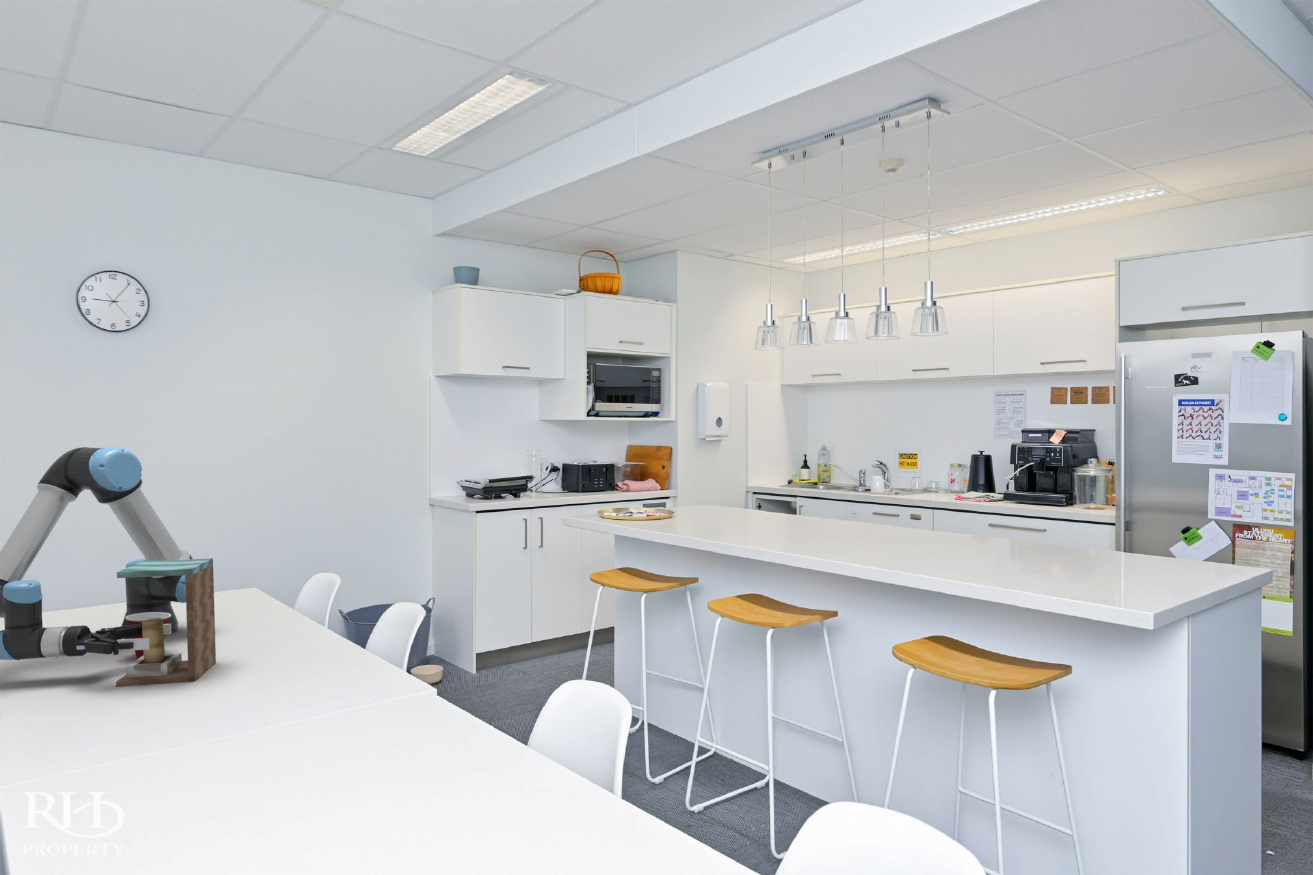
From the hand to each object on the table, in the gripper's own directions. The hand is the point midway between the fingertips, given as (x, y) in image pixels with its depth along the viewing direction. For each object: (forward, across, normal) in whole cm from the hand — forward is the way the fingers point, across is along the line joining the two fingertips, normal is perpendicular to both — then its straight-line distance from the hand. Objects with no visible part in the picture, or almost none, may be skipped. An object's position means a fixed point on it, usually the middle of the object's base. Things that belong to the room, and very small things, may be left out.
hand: (160, 635), depth 209 cm
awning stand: (+2, 0, -10) cm, 10 cm away
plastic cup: (-9, -17, -10) cm, 22 cm away
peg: (-1, 0, -9) cm, 9 cm away
